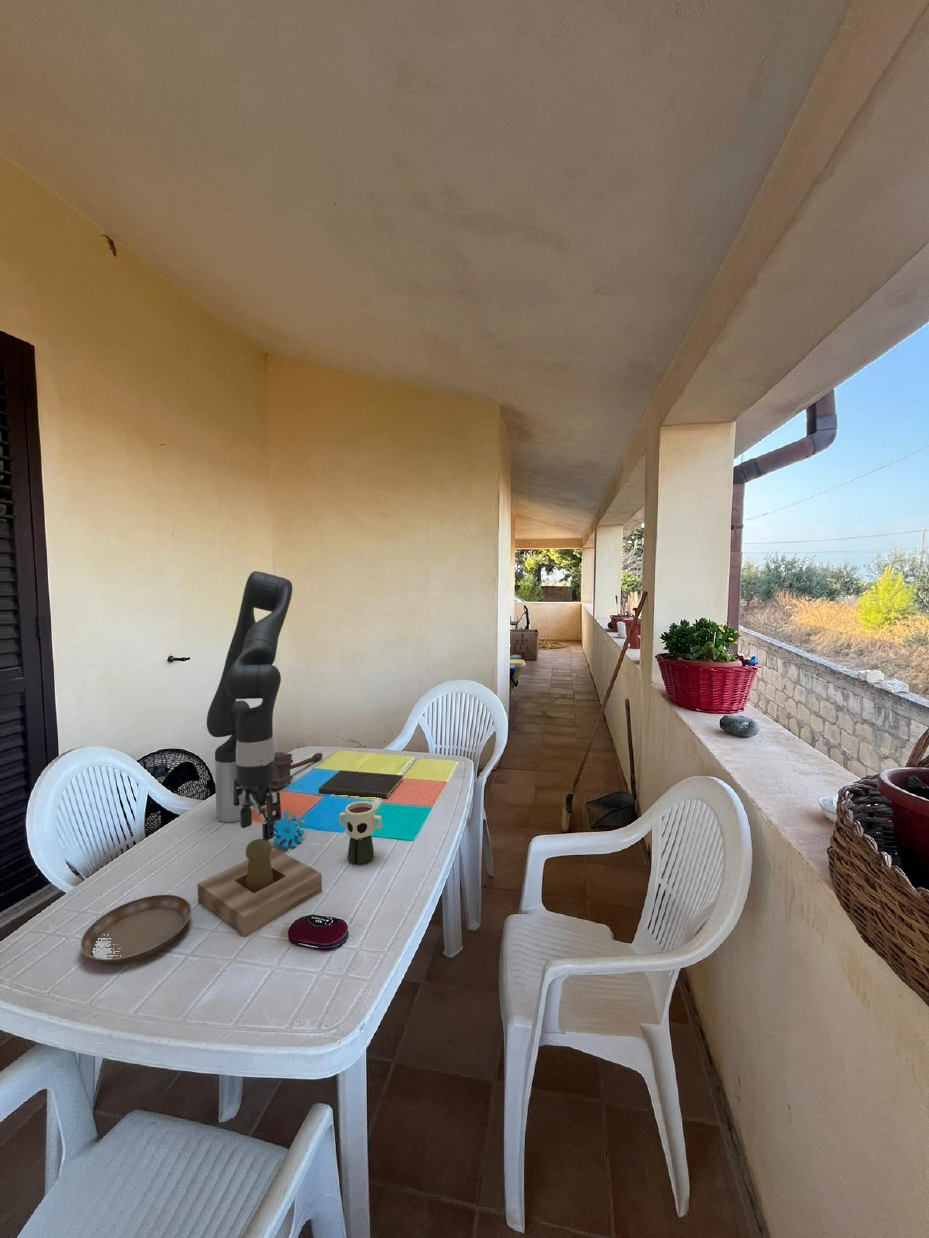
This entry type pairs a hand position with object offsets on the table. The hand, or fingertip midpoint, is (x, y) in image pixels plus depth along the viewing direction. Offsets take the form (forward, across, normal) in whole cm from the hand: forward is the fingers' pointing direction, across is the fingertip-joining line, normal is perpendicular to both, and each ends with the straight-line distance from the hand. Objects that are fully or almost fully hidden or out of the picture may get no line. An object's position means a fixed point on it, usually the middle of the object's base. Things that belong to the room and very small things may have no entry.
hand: (257, 832), depth 109 cm
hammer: (+15, -54, +48) cm, 74 cm away
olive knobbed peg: (+13, 0, 0) cm, 13 cm away
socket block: (+14, 0, 0) cm, 14 cm away
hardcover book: (+15, -27, +53) cm, 62 cm away
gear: (+15, -15, +17) cm, 27 cm away
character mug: (+14, +6, +23) cm, 28 cm away
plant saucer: (+15, -6, -21) cm, 26 cm away
